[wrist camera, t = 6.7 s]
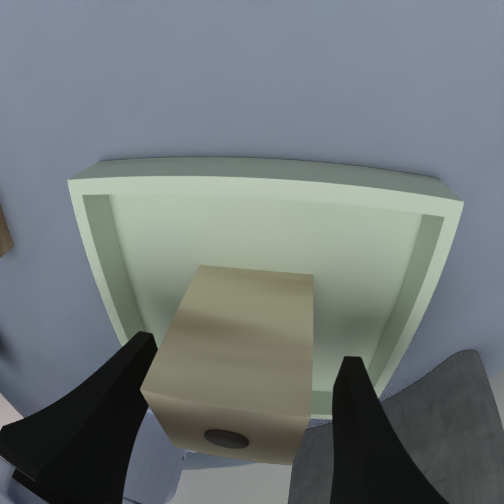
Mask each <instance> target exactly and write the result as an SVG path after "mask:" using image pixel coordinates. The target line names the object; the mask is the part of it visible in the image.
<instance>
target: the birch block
mask: <svg viewBox="0 0 504 504" xmlns="http://www.w3.org/2000/svg"><path fill="white" fill-rule="evenodd" d="M312 371H313V275H311V274H299V273H287V272H275V271H263V270H251V269H240V268H229V267H218V266H208V265H199V267H198V269H197V271H196V273H195V275H194V277H193V279H192V281H191V283H190V285H189V287H188V289H187V291H186V293H185V295H184V297H183V299H182V301H181V303H180V305H179V307H178V309H177V311H176V313H175V316H174V318H173V320H172V322H171V324H170V326H169V328H168V330H167V332H166V334H165V336H164V338H163V340H162V343H161V345H160V347H159V349H158V351H157V353H156V355H155V358H154V360H153V362H152V364H151V366H150V368H149V370H148V373H147V375H146V377H145V379H144V381H143V384H142V386H141V388H140V391H141V392H142V394H143V396H144V398H145V400H146V401H147V403H148V405H149V407H150V408H151V410H152V412H153V414H154V415H155V417H156V419H157V420H158V422H159V424H160V425H161V427H162V429H163V430H164V432H165V433H166V435H167V436H168V438H169V440H170V441H171V443H172V444H173V446H174V447H178V448H182V449H186V450H190V451H195V452H199V453H204V454H209V455H214V456H220V457H225V458H231V459H238V460H245V461H252V462H260V463H270V464H281V465H292V462H293V460H294V458H295V455H296V453H297V450H298V448H299V446H300V443H301V441H302V438H303V436H304V433H305V430H306V428H307V425H308V423H309V420H310V417H311V399H312Z"/></svg>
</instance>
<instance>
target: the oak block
mask: <svg viewBox="0 0 504 504" xmlns="http://www.w3.org/2000/svg"><path fill="white" fill-rule="evenodd" d="M13 246H14V244H13V241H12V238H11V235H10V233H9V230H8V227H7V224H6V221H5V218H4V214H3V211H2V208H1V205H0V258H1V257H2V256H3V255H4V254H5V253H6V252H8V251H9V250H10V249H11V248H12V247H13Z"/></svg>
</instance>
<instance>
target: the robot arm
mask: <svg viewBox="0 0 504 504" xmlns="http://www.w3.org/2000/svg"><path fill="white" fill-rule="evenodd" d="M157 351H158V347H157V344H156V341H155V338H154V335H153V333H148V332H143V331H139V332H137V333H136V334H135V335H134V336H133V337H132V338H131V339H130V340H129V341H128V342H127V343H126V344H125V345H124V346H123V347H122V348H121V349H120V350H119V351H118V352H117V353H116V354H114V355H113V356H112V357H111V358H110V359H109V360H108V361H107V362H106V363H105V364H104V365H103V366H102V367H101V368H99V369H98V370H97V371H96V372H95V373H94V374H92V375H91V376H90V377H89V378H88V379H87V380H85V381H84V382H83V383H82V384H80V385H79V386H78V387H77V388H75V389H74V390H73V391H71V392H70V393H68V394H67V395H66V396H64V397H63V398H61V399H59V400H58V401H56V402H55V403H53V404H51V405H50V406H48V407H46V408H44V409H43V410H41V411H39V412H37V413H35V414H33V415H31V416H28V417H26V418H24V419H21V420H19V421H16V422H13V423H11V424H8V425H5V426H3V427H2V429H1V430H0V456H1V457H0V504H167V503H168V502H170V501H171V500H172V498H173V497H174V495H175V493H176V489H177V486H178V483H179V479H180V476H181V472H182V469H183V466H184V462H185V459H186V456H187V452H193V453H197V452H195V451H190V450H186V449H182V448H178V447H174V446H173V444H172V443H171V441H170V440H169V438H168V436H167V435H166V433H165V432H164V430H163V429H162V427H161V425H160V424H159V422H158V420H157V419H156V417H155V415H154V414H153V412H152V410H151V408H150V407H149V405H148V403H147V401H146V400H145V398H144V396H143V394H142V392H141V391H140V388H141V386H142V384H143V381H144V379H145V377H146V375H147V373H148V370H149V368H150V366H151V364H152V362H153V360H154V358H155V355H156V353H157ZM332 425H333V449H334V470H333V480H332V489H331V497H330V504H449V503H448V502H447V501H446V500H445V499H444V498H443V497H442V496H441V495H440V494H439V492H438V491H437V490H436V489H435V488H434V487H433V486H432V484H431V483H430V482H429V481H428V480H427V478H426V477H425V476H424V475H423V473H422V472H421V471H420V469H419V468H418V467H417V465H416V464H415V463H414V461H413V460H412V458H411V457H410V455H409V454H408V452H407V451H406V449H405V448H404V446H403V444H402V443H401V441H400V440H399V438H398V436H397V434H396V433H395V431H394V429H393V427H392V425H391V423H390V421H389V420H388V418H387V416H386V414H385V412H384V409H383V407H382V405H381V403H380V401H379V399H378V397H377V394H376V392H375V390H374V387H373V385H372V383H371V380H370V378H369V375H368V373H367V370H366V368H365V365H364V362H363V359H362V358H361V357H359V356H344V358H343V361H342V364H341V366H340V369H339V372H338V374H337V377H336V380H335V382H334V385H333V397H332ZM3 458H4V459H5V460H4V459H3ZM8 462H9V463H8Z"/></svg>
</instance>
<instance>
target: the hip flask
mask: <svg viewBox="0 0 504 504" xmlns="http://www.w3.org/2000/svg"><path fill="white" fill-rule="evenodd" d="M380 403H381V405H382V407H383V409H384V412H385V414H386V416H387V418H388V420H389V421H390V423H391V425H392V427H393V429H394V431H395V433H396V434H397V436H398V438H399V440H400V441H401V443H402V444H403V446H404V448H405V449H406V451H407V452H408V454H409V455H410V457H411V458H412V460H413V461H414V463H415V464H416V465H417V467H418V468H419V469H420V471H421V472H422V473H423V475H424V476H425V477H426V478H427V480H428V481H429V482H430V483H431V484H432V486H433V487H434V488H435V489H436V490H437V491H438V492H439V494H440V495H441V496H442V497H443V498H444V499H445V500H446V501H447V502H448V503H449V504H504V431H503V427H502V423H501V419H500V416H499V412H498V409H497V406H496V402H495V399H494V396H493V393H492V390H491V387H490V384H489V381H488V378H487V375H486V372H485V370H484V367H483V364H482V362H481V359H480V356H479V354H478V352H476V351H474V350H465V351H461V352H459V353H456V354H454V355H452V356H451V357H449V358H448V359H446V360H445V361H444V362H442V363H441V364H440V365H439V366H437V367H436V368H435V369H434V370H432V371H431V372H430V373H428V374H427V375H426V376H424V377H423V378H421V379H420V380H418V381H417V382H415V383H414V384H412V385H411V386H409V387H407V388H406V389H404V390H402V391H401V392H399V393H397V394H396V395H394V396H392V397H390V398H388V399H386V400H384V401H382V402H380ZM333 470H334V449H333V425H332V423H329V424H326V425H322V426H319V427H315V428H311V429H307V430H305V433H304V436H303V438H302V441H301V443H300V446H299V448H298V450H297V453H296V455H295V458H294V460H293V465H292V473H291V482H290V490H289V498H288V504H330V497H331V489H332V480H333Z"/></svg>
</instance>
